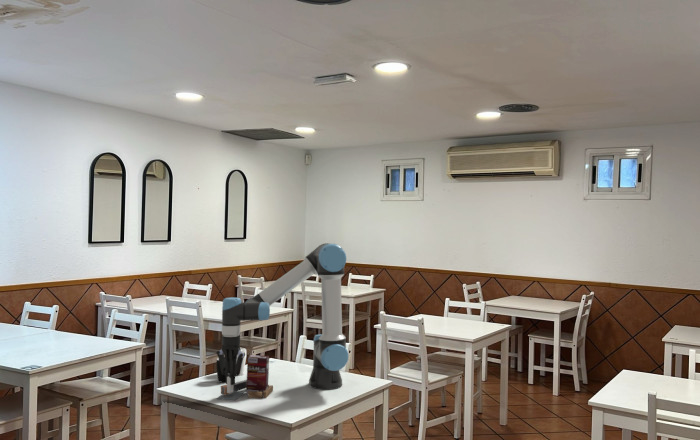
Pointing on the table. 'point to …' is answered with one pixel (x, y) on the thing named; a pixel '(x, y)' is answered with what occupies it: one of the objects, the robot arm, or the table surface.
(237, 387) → the lever
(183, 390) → the table surface
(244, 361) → the cup
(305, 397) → the table surface
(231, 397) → the slate mat
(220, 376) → the mug
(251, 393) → the cradle
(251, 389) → the supplement box
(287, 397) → the table surface
